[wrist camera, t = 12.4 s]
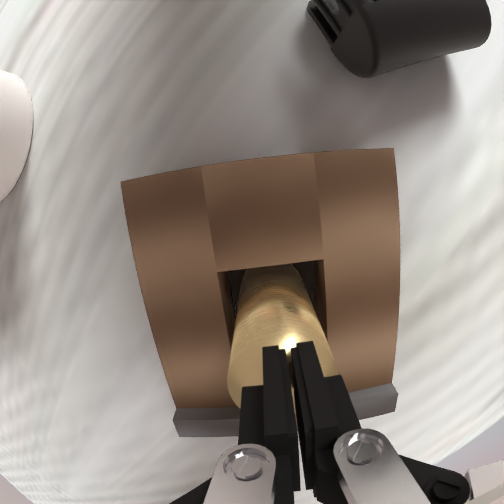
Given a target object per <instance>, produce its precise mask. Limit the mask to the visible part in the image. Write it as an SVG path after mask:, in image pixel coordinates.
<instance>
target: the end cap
mask: <svg viewBox="0 0 504 504" xmlns="http://www.w3.org/2000/svg"><path fill="white" fill-rule="evenodd" d="M307 10H308V12H309V14H310V15H311V16H312V18H313V19H314V21H315V22H316V24H317V25H318V27H319V28H320V30H321V31H322V33H323V34H324V36H325V37H326V39H327V40H328V42H329V43H330V45H331V50H332V51H333V53H334V54H335V56H336V57H337V58H338V60H339V61H340V62H341V63H342V64H343V65H344V66H345V67H346V68H347V69H348V70H349V71H350V72H352V73H353V74H355V75H357V76H359V77H362V78H370V77H373V76H376V75H379V74H382V73H385V72H388V71H391V70H394V69H398V68H401V67H404V66H407V65H411V64H414V63H417V62H421V61H424V60H428V59H432V58H435V57H439V56H443V55H447V54H451V53H455V52H459V51H464V50H468V49H473V48H477V47H480V46H481V45H482V44H484V43H485V42H486V40H487V39H488V37H489V34H490V31H491V15H490V11H489V7H488V5H487V3H486V0H311V1H309V3H308V6H307Z"/></svg>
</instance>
